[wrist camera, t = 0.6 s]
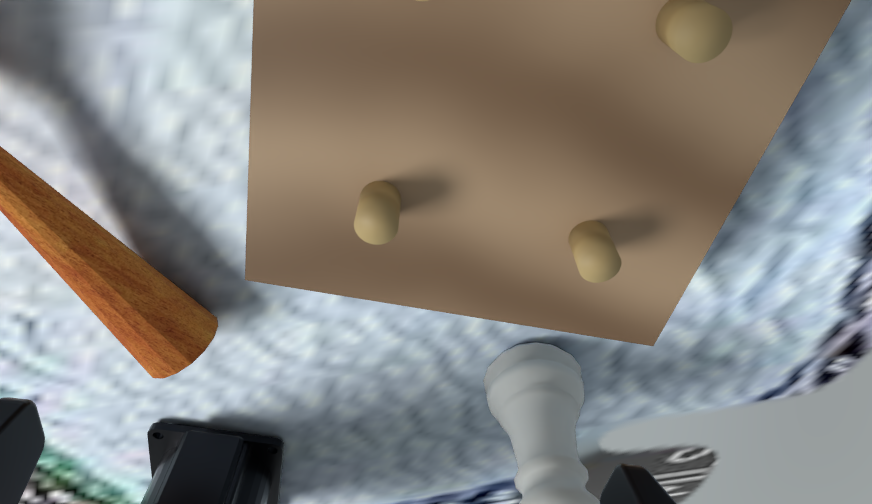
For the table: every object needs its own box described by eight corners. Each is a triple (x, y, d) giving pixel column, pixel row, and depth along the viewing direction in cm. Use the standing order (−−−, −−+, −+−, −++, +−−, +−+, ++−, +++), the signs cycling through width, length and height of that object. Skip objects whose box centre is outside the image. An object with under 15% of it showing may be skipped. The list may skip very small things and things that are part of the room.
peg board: (622, 277, 23) (667, 377, 19) (273, 216, 22) (231, 310, 17) (818, -126, 16) (976, -122, 11) (304, -267, 14) (241, -330, 9)
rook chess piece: (466, 391, 27) (477, 561, 20) (509, 324, 25) (536, 492, 18) (550, 415, 28) (586, 585, 21) (598, 353, 26) (655, 523, 19)
